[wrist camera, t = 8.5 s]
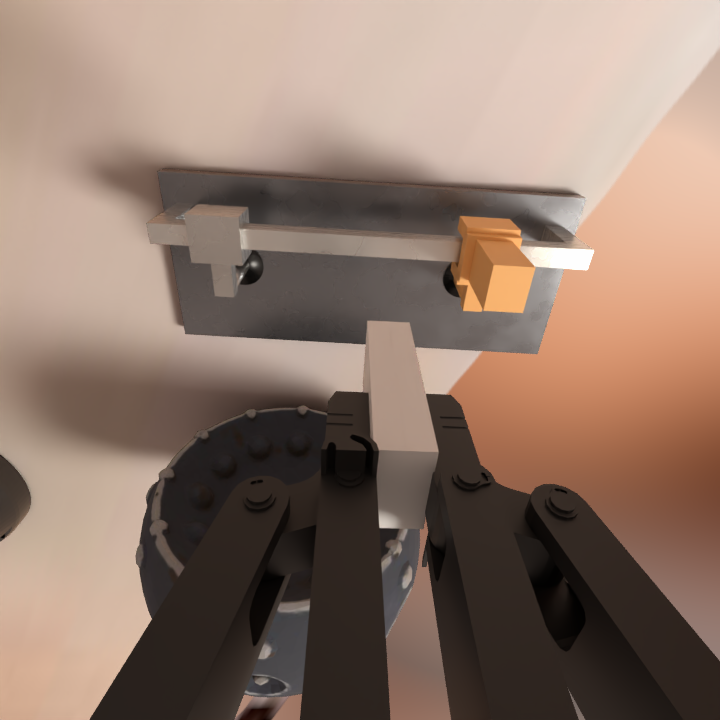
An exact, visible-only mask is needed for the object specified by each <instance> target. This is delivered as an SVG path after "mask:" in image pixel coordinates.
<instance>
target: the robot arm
mask: <svg viewBox="0 0 720 720" xmlns="http://www.w3.org/2000/svg"><path fill="white" fill-rule="evenodd" d="M30 505H31V497H30V492H29V489H28V487H27V485H26V483H25V481H24V480H23V478H22V477H21V475H20V474H19V473H18V472H17V470H16V469H15V468H14V467H13V466H12V465H11V464H10V463H8V462H7V461H6V460H5V459H4V458H2V457H1V456H0V541H2V540H3V539H5V538H6V537H7V536H9V535H10V534H11V533H12V532H13V531H14V530H15V528H16V527H17V526H18V525H19V523H20V522H21V521H22V520H23V518H24V517H25V516H26V514H27V513H28V511H29V509H30ZM425 518H426V521H427V527H428V536H427V540H426V545H425V550H424V555H423V561H422V567H426V566H427V561H428V565H429V573H430V579H431V586H432V593H433V599H434V606H435V613H436V620H437V627H438V633H439V640H440V647H441V653H442V660H443V667H444V673H445V681H446V687H447V694H448V701H449V707H450V714H451V720H579V719H578V716H577V714H576V711H575V708H574V705H573V702H572V699H571V696H570V693H569V691H570V692H571V694H572V696H573V698H574V700H575V701H576V703H577V705H578V707H579V709H580V711H581V712H582V714H583V716H584V718H585V720H720V661H719V660H718V658H717V657H716V656H715V655H714V654H713V653H712V651H711V650H710V649H709V648H708V647H707V645H706V644H705V643H704V642H703V641H702V639H701V638H700V637H699V636H698V635H697V633H696V632H695V631H694V630H693V629H692V628H691V626H690V625H689V624H688V623H687V622H686V620H685V619H684V618H683V617H682V616H681V614H680V613H679V612H678V611H677V610H676V608H675V607H674V606H673V605H672V604H671V602H670V601H669V600H668V599H667V598H666V597H665V595H664V594H663V593H662V592H661V591H660V589H659V588H658V587H657V586H656V585H655V583H654V582H653V581H652V580H651V579H650V577H649V576H648V575H647V574H646V573H645V572H644V570H643V569H642V568H641V567H640V566H639V564H638V563H637V562H636V561H635V560H634V558H633V557H632V556H631V555H630V554H629V553H628V551H627V550H626V549H625V548H624V547H623V545H622V544H621V543H620V542H619V541H618V539H617V538H616V537H615V536H614V535H613V534H612V532H611V531H610V530H609V529H608V527H607V526H606V525H605V524H604V523H603V522H602V520H601V519H600V518H599V517H598V516H597V515H596V513H595V512H594V511H593V510H592V508H591V507H590V506H589V505H588V504H587V503H586V501H584V500H583V499H582V498H581V497H580V496H579V495H578V494H577V493H575V492H573V491H571V490H570V489H568V488H566V487H563V486H559V485H555V484H543V485H541V486H538V487H536V488H535V489H534V491H533V492H532V494H531V495H530V494H527V493H523V492H520V491H516V490H513V489H510V488H507V487H504V486H502V485H500V484H498V483H497V482H496V481H495V479H494V478H493V476H492V474H491V473H490V472H489V471H488V470H487V469H485V468H484V467H483V466H481V465H480V462H479V459H478V456H477V453H476V450H475V447H474V444H473V441H472V437H471V434H470V432H469V429H468V425H467V422H466V420H465V416H464V413H463V410H462V407H461V405H460V404H459V403H458V402H457V401H456V400H455V399H454V398H453V397H452V396H451V395H440V394H426V393H425V389H424V384H423V380H422V376H421V371H420V367H419V362H418V358H417V353H416V349H415V345H414V340H413V336H412V331H411V327H410V322H388V321H367V333H366V347H365V361H364V375H363V392H340V391H336V392H335V393H334V395H333V396H332V397H331V398H330V400H329V401H328V411H327V422H326V434H325V441H324V443H323V446H322V448H321V468H320V469H319V471H318V472H317V473H316V474H315V475H314V476H313V477H311V478H309V479H307V480H305V481H302V482H299V483H296V484H292V485H287V486H286V485H285V484H284V483H283V482H282V481H281V480H279V479H277V478H274V477H272V476H256V477H252V478H248V479H246V480H245V481H243V482H241V483H239V484H238V485H237V486H236V487H235V489H234V490H233V491H232V492H231V494H230V495H229V497H228V498H227V500H226V502H225V503H224V505H223V506H222V508H221V510H220V511H219V513H218V514H217V516H216V518H215V519H214V521H213V522H212V524H211V526H210V527H209V529H208V530H207V532H206V534H205V535H204V537H203V539H202V540H201V542H200V543H199V545H198V547H197V548H196V550H195V551H194V553H193V555H192V556H191V558H190V559H189V561H188V563H187V564H186V566H185V567H184V569H183V571H182V572H181V574H180V575H179V577H178V579H177V580H176V582H175V583H174V585H173V587H172V588H171V590H170V591H169V593H168V595H167V596H166V598H165V599H164V601H163V603H162V604H161V606H160V607H159V609H158V611H157V612H156V614H155V615H154V617H153V619H152V620H151V622H150V623H149V625H148V627H147V628H146V630H145V631H144V633H143V635H142V636H141V638H140V640H139V641H138V643H137V644H136V646H135V648H134V649H133V651H132V652H131V654H130V656H129V657H128V659H127V660H126V662H125V664H124V665H123V667H122V668H121V670H120V672H119V673H118V675H117V676H116V678H115V680H114V681H113V683H112V684H111V686H110V688H109V689H108V691H107V692H106V694H105V696H104V697H103V699H102V700H101V702H100V704H99V705H98V707H97V708H96V710H95V712H94V713H93V715H92V716H91V718H90V720H234V719H235V716H236V714H237V711H238V708H239V706H240V703H241V701H242V698H243V696H244V693H245V691H246V688H247V686H248V683H249V680H250V678H251V675H252V673H253V670H254V668H255V665H256V663H257V660H258V658H259V655H260V653H261V650H262V647H263V645H264V642H265V640H266V637H267V635H268V632H269V630H270V627H271V625H272V622H273V620H274V617H275V614H276V612H277V609H278V607H279V604H280V602H281V599H282V597H283V594H284V592H285V589H286V586H287V584H288V581H289V579H290V576H291V574H292V573H295V572H298V571H302V570H305V569H308V568H312V567H313V573H312V584H311V596H310V608H309V620H308V631H307V643H306V655H305V667H304V679H303V690H302V702H301V715H300V720H390V706H389V688H388V671H387V653H386V635H385V617H384V600H383V582H382V565H381V547H380V530H379V528H399V529H423V528H424V523H425ZM567 687H568V688H567ZM568 689H569V691H568Z"/></svg>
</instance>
